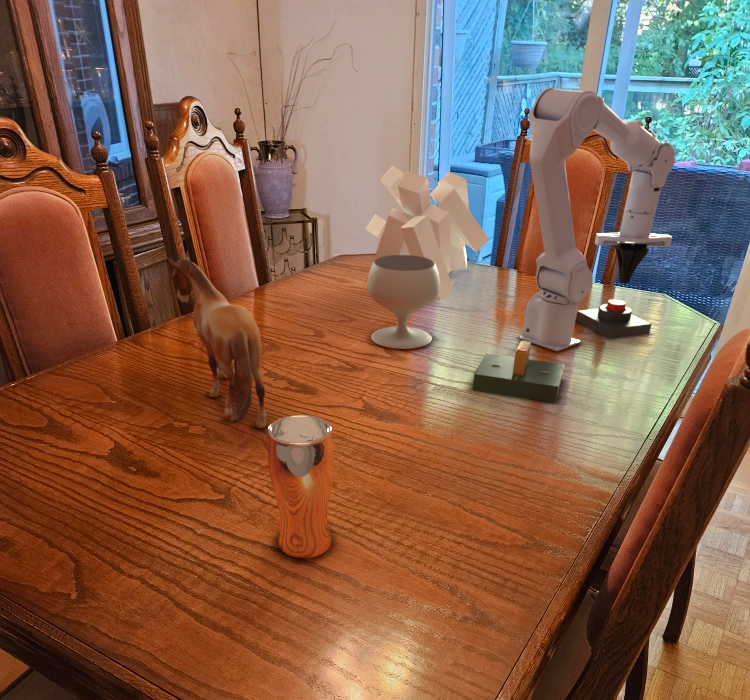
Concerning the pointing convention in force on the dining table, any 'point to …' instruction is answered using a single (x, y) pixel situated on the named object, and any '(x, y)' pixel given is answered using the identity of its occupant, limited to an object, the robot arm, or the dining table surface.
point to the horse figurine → (224, 339)
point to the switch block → (613, 322)
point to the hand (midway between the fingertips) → (623, 282)
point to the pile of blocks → (428, 223)
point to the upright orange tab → (521, 358)
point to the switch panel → (518, 378)
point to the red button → (616, 305)
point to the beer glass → (302, 482)
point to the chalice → (403, 296)
